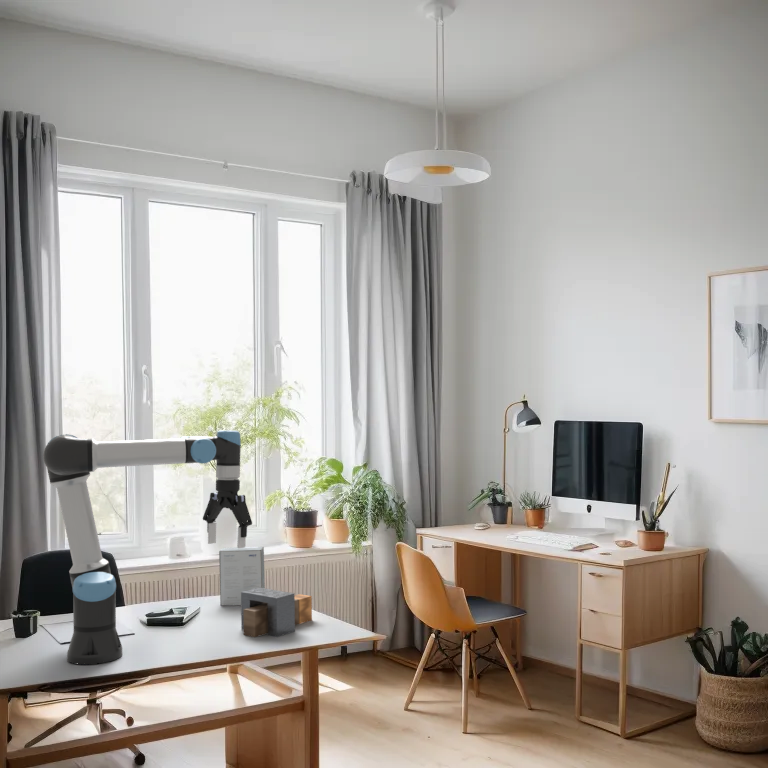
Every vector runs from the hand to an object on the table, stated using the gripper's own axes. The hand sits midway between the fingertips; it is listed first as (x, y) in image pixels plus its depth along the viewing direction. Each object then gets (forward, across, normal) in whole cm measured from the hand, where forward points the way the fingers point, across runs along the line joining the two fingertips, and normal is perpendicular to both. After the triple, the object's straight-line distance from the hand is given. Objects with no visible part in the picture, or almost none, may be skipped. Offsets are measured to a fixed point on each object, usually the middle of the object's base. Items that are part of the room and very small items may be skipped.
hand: (226, 545), depth 277 cm
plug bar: (+27, -10, -15) cm, 32 cm away
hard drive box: (+27, +25, -32) cm, 49 cm away
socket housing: (+27, -10, -10) cm, 30 cm away
